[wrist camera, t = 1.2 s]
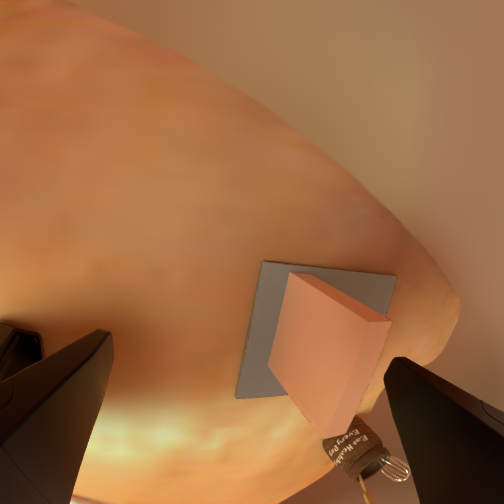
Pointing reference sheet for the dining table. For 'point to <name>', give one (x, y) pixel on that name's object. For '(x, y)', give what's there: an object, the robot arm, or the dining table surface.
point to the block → (326, 351)
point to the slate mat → (269, 307)
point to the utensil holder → (358, 454)
